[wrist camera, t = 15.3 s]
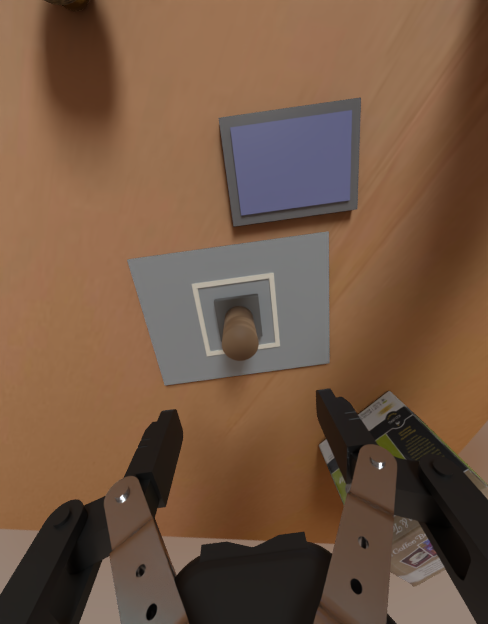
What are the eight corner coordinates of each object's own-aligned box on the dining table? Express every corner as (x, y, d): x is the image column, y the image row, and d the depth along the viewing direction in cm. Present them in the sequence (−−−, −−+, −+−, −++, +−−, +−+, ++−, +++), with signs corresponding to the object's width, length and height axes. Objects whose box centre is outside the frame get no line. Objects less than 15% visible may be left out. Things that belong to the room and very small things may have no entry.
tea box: (352, 469, 41) (413, 592, 27) (316, 442, 38) (363, 562, 24) (423, 420, 38) (534, 530, 24) (389, 387, 35) (490, 488, 21)
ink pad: (354, 104, 23) (362, 95, 22) (352, 210, 26) (358, 208, 25) (219, 123, 23) (218, 116, 22) (233, 226, 26) (233, 226, 25)
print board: (326, 231, 27) (329, 231, 26) (327, 360, 33) (329, 363, 32) (129, 259, 27) (126, 259, 26) (166, 382, 33) (164, 386, 32)
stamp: (257, 293, 29) (265, 314, 21) (261, 332, 30) (270, 365, 23) (214, 299, 29) (207, 322, 21) (221, 337, 30) (216, 372, 23)
